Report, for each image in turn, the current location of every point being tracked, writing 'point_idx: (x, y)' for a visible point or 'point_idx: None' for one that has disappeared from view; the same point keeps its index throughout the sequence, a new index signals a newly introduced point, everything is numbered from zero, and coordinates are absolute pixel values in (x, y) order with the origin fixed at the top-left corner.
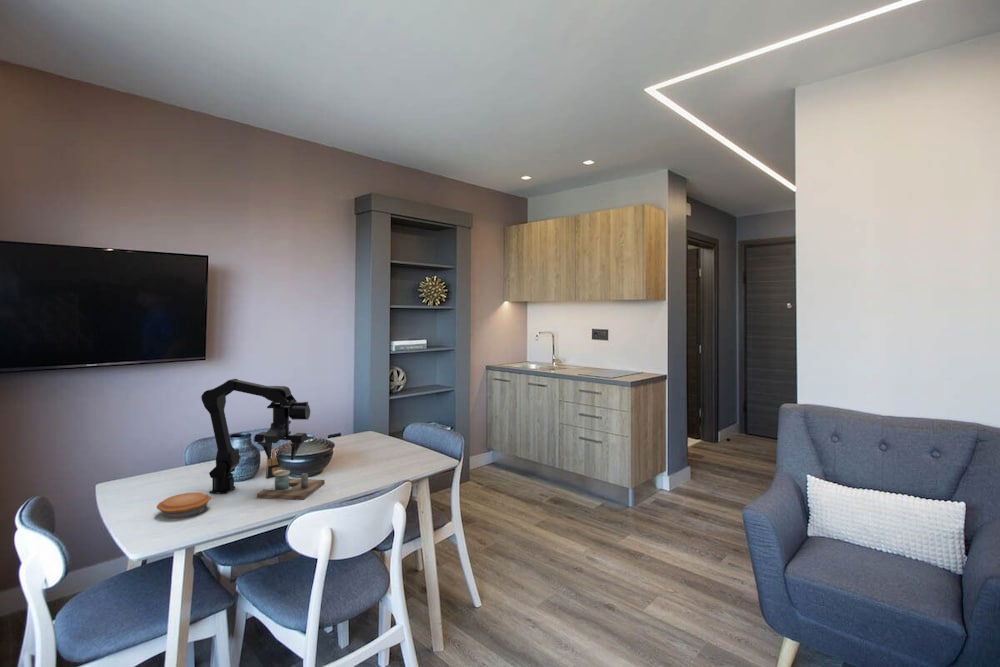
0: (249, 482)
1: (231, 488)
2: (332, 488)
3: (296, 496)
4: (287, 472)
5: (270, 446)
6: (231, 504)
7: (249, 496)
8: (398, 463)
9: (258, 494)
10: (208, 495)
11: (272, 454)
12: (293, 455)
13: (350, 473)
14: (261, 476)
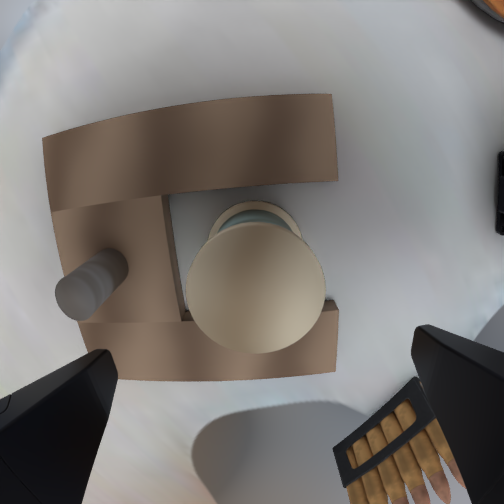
0: (469, 313)
1: (501, 190)
2: (35, 310)
3: (77, 128)
4: (191, 285)
5: (485, 476)
6: (387, 10)
7: (379, 118)
8: None
9: (317, 94)
10: (491, 1)
11: (441, 475)
12: (48, 376)
13: (103, 456)
14: None
